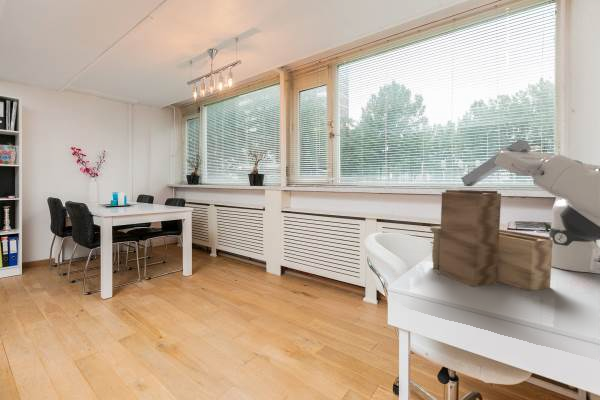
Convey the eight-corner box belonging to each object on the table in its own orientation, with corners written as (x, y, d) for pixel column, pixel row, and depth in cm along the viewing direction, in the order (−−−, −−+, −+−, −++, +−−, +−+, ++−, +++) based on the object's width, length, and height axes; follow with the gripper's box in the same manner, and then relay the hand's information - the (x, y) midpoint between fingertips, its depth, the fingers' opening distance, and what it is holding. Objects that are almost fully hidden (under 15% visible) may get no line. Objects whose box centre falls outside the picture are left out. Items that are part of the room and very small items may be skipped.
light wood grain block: (500, 272, 101) (502, 229, 100) (549, 287, 86) (553, 236, 86) (481, 275, 98) (483, 230, 97) (529, 291, 83) (532, 238, 82)
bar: (471, 186, 94) (467, 178, 95) (531, 149, 77) (526, 140, 78) (464, 186, 93) (461, 178, 94) (524, 149, 76) (518, 139, 77)
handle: (449, 268, 105) (450, 227, 104) (438, 270, 102) (439, 228, 101) (437, 264, 109) (438, 225, 108) (426, 267, 106) (427, 227, 105)
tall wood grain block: (460, 270, 102) (464, 189, 100) (496, 282, 90) (501, 190, 88) (439, 273, 99) (442, 189, 97) (473, 286, 87) (477, 191, 85)
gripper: (518, 185, 69) (474, 159, 79) (571, 185, 76) (524, 161, 86) (534, 161, 65) (486, 138, 76) (588, 163, 72) (537, 141, 83)
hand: (506, 150), depth 81 cm, fingers closed on bar, 3 cm apart
